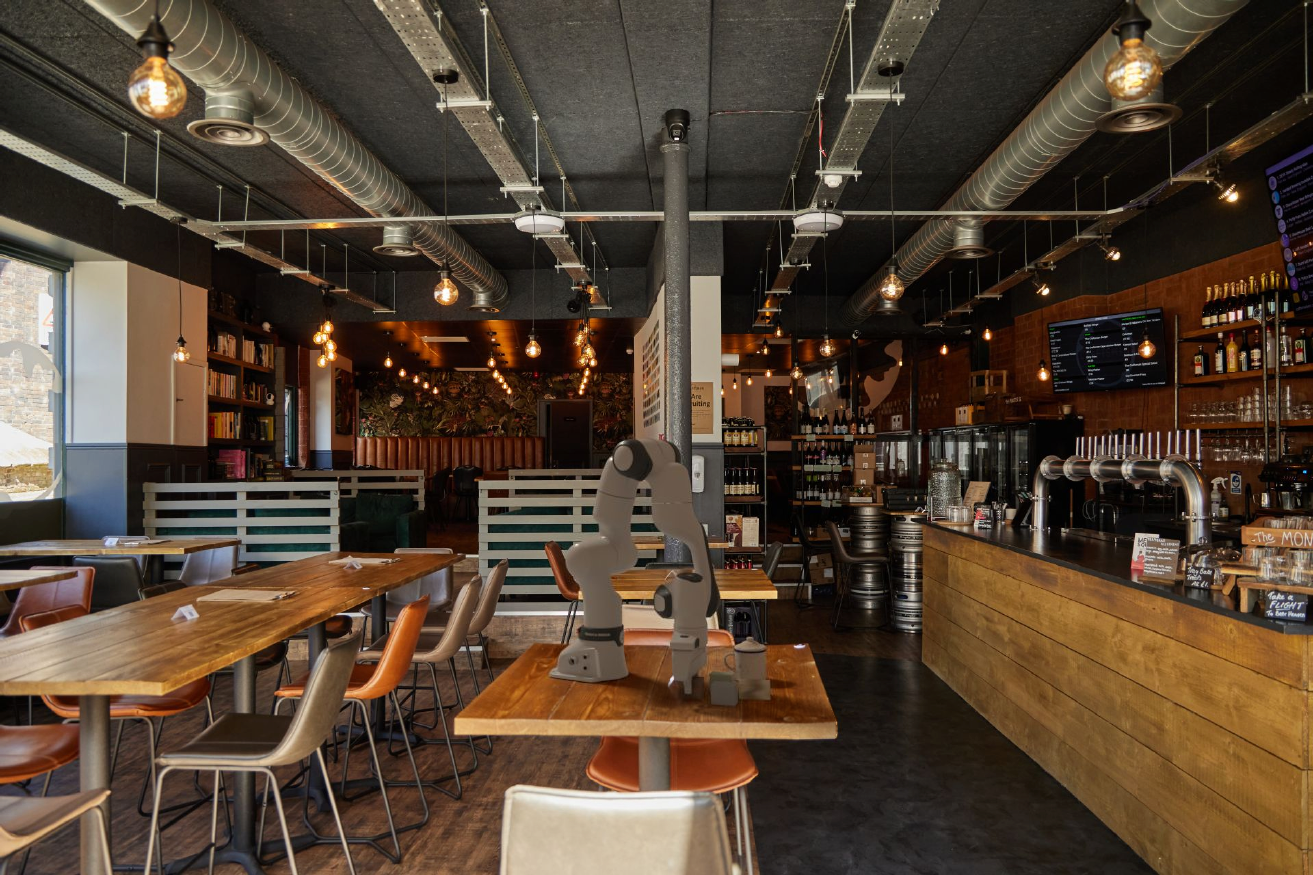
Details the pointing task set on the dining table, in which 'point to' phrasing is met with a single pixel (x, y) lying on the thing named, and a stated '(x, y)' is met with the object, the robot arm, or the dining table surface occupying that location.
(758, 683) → the maple block
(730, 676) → the sage block
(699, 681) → the walnut block
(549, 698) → the dining table surface
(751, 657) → the teacup with lid
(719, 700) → the grey block
